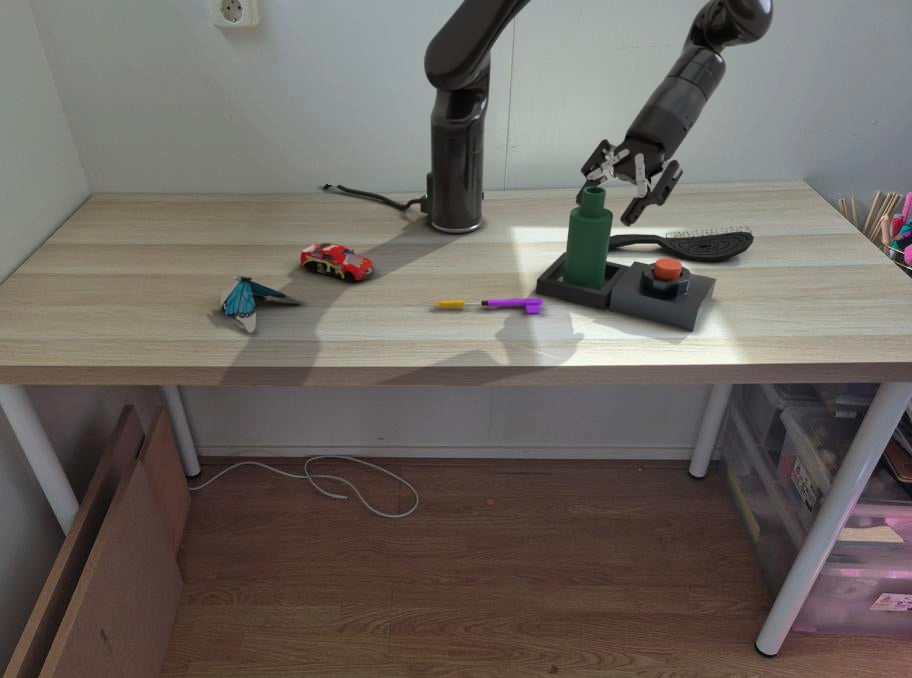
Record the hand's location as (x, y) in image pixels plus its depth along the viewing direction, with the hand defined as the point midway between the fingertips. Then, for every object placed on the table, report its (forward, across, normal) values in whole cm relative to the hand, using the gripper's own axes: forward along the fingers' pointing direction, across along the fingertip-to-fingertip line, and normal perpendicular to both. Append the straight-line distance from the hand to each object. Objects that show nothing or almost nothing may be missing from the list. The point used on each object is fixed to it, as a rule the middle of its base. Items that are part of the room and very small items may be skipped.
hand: (601, 214), depth 103 cm
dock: (+10, 0, +6) cm, 11 cm away
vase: (+10, 0, +6) cm, 11 cm away
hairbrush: (-5, 0, +21) cm, 22 cm away
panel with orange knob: (+6, +11, +10) cm, 16 cm away
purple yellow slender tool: (+15, +1, -1) cm, 15 cm away
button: (+3, +11, +6) cm, 13 cm away
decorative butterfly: (+40, -26, -24) cm, 54 cm away
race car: (+28, -29, -12) cm, 43 cm away
